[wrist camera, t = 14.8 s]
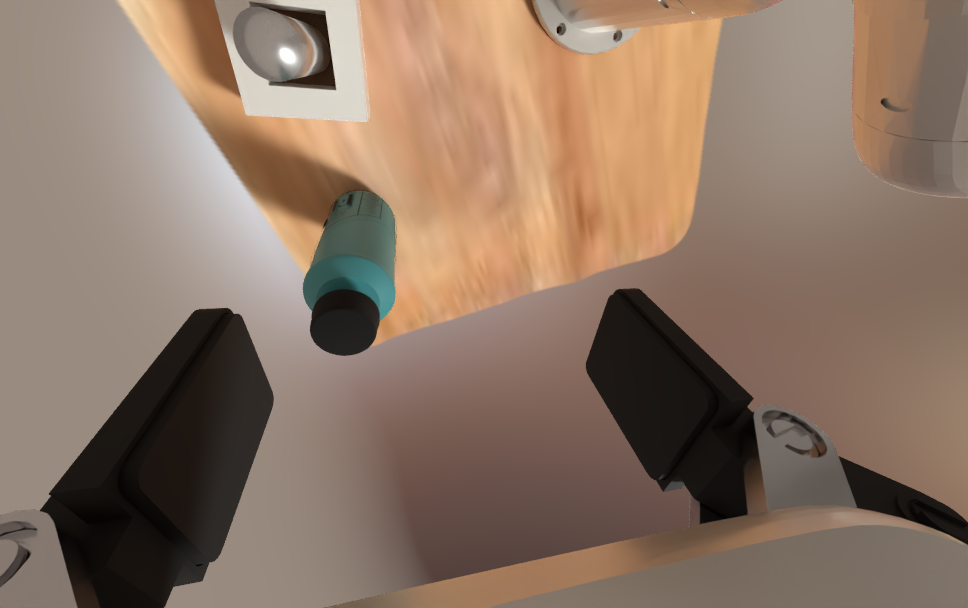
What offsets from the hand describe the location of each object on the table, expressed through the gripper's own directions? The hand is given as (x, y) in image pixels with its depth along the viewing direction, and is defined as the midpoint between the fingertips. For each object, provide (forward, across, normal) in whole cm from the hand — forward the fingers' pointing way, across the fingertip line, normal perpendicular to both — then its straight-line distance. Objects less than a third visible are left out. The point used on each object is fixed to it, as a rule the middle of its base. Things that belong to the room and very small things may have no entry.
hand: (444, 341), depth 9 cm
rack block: (+30, +8, -6) cm, 32 cm away
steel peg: (+30, +8, -6) cm, 32 cm away
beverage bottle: (+31, +5, +8) cm, 32 cm away
